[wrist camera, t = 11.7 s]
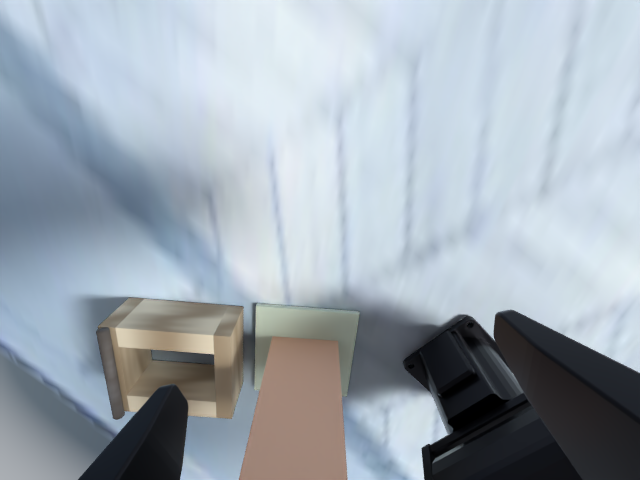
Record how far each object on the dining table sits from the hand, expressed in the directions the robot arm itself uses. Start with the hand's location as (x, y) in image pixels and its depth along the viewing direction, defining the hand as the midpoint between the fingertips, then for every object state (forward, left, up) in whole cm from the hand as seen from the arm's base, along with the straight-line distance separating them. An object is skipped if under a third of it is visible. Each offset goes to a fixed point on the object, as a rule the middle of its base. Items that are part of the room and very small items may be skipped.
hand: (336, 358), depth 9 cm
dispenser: (0, +15, -13) cm, 20 cm away
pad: (-7, +9, -13) cm, 17 cm away
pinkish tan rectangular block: (-7, +9, -13) cm, 17 cm away
